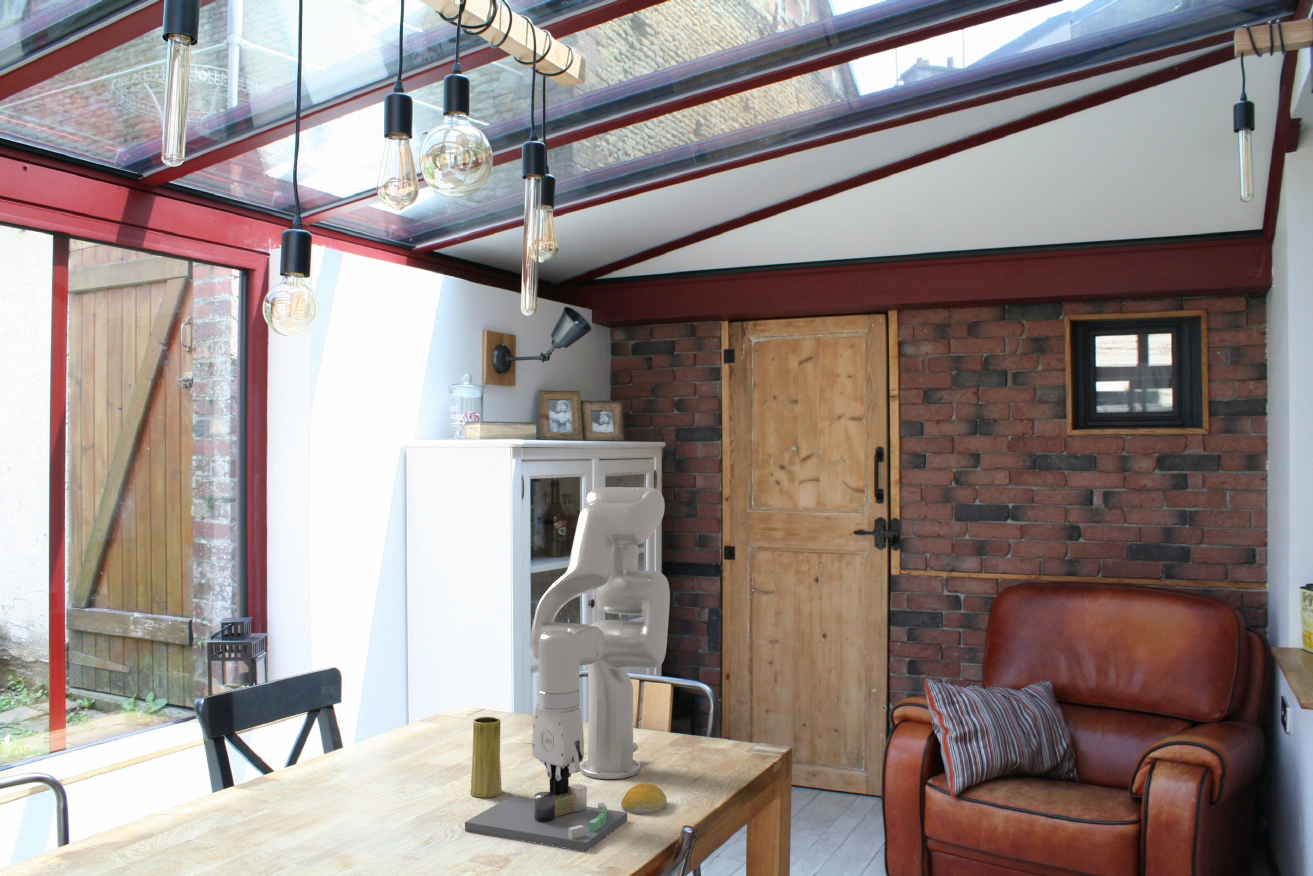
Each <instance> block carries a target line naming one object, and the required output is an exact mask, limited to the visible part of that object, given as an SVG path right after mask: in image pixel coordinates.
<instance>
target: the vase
mask: <svg viewBox="0 0 1313 876" xmlns="http://www.w3.org/2000/svg"><path fill="white" fill-rule="evenodd" d="M472 730H473V731H472V732H473V737H472V762H471V776H470V777H471V779H470V795H471V796H473V797H475V798H480V799H487V798H493V797H497V796H499V795H501V794H502V792H503V791H502V790H503V789H502V773H501V772H502V770H501V767H502V766H501V718H499V717H497V716H496V717H495V716H483V717H482V716H480V717H477V718H474V719H473V729H472Z"/></svg>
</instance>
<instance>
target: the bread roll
mask: <svg viewBox="0 0 1313 876" xmlns="http://www.w3.org/2000/svg"><path fill="white" fill-rule="evenodd" d="M620 805H621V808H622V809H623V810H624V811H625V812H628V811H629V813H631V812H632V814H635V815H649V814H655V813H659V812H661V811H663V810H664V809H665V808H666V805H667V796H666V794H665V793H664V791H663V790H662V788H660V787H659V786H657V785H656V784H651V783H647V782H646V783H645V782H644V783H638V784H635V785H633V786H631V788H629V789H627V791H626V793H625V794H624V796H623V798H622V799H621V803H620Z"/></svg>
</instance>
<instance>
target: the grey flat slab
mask: <svg viewBox="0 0 1313 876" xmlns="http://www.w3.org/2000/svg"><path fill="white" fill-rule="evenodd" d="M534 806H535V797H528V796H522V795H511V796H509V797H508V798H506V799H504V800H502V801H500V802H498V803H496V804H495V805H493V806H491V807H489V808H488V809H485V810H484V811H482V812H480V813H479V814H476V815H475V816H473V817H471V818H470V819H468V820H466V821H465V822H464V831H465V832H469V831H471V832H470V833H475V832H477V834H481V833H482V834H481V835H487V834H488V836H494V837H500V838H504V839H512V840H516V839H517V840H518V841H522V840H524V841H523V842H528V841H530V842H529V843H533V842H536V843H535V844H539V843H543V844H542V845H545V844H548V845H547V846H551V845H554V846H553V847H557V846H559V847H558V848H562V847H565V848H564V849H568V848H570V849H569V850H574V849H576V850H575V851H580V850H582V851H581V852H586V851H587V852H588V851H590V850H591V849H593V846H594V847H595V846H597V844H599V843H600V842H602V841H603V840H604V839H605V838H607V837H608V836H610V835H611V834H612V833H613V832H615V831H616V830H617V829H619V828H620V827H621V826H623V825H624V824H625V823H627V822H628V811H619V810H615V809H608V807H607V805H606V804H605V803H604V802H597V807H594V806H587V809H584V810H581V811H577V812H575V811H574V812H570V813H567V814H563V815H560V816H556V817H555V818H554V819H553V820H551V821H537V820H535V819H534ZM626 821H627V822H626ZM622 824H623V825H622ZM618 827H619V828H618ZM615 829H616V830H615ZM614 830H615V831H614ZM610 833H611V834H610ZM607 835H608V836H607ZM517 840H516V841H517ZM590 848H591V849H590ZM589 849H590V850H589Z"/></svg>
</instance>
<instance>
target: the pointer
mask: <svg viewBox="0 0 1313 876" xmlns="http://www.w3.org/2000/svg"><path fill="white" fill-rule="evenodd" d="M587 788H588V786H587V785H584V784H581V783H575V784H572V785H571V784H570V785H569V786H568V793H565V794H561V795H557V796H555V794H554V793H552V792H550V791H540V792H537V793H535V794H534V798H535V806H534V819H535V820H537V821H551V820H553V819H554V818H555V817H556V816H560V815H563V814H567V813H570V812H574V811H575V812H577V811H581V810H584V809H587V801H588V797H587V796H588V793H587V792H588V789H587Z"/></svg>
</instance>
